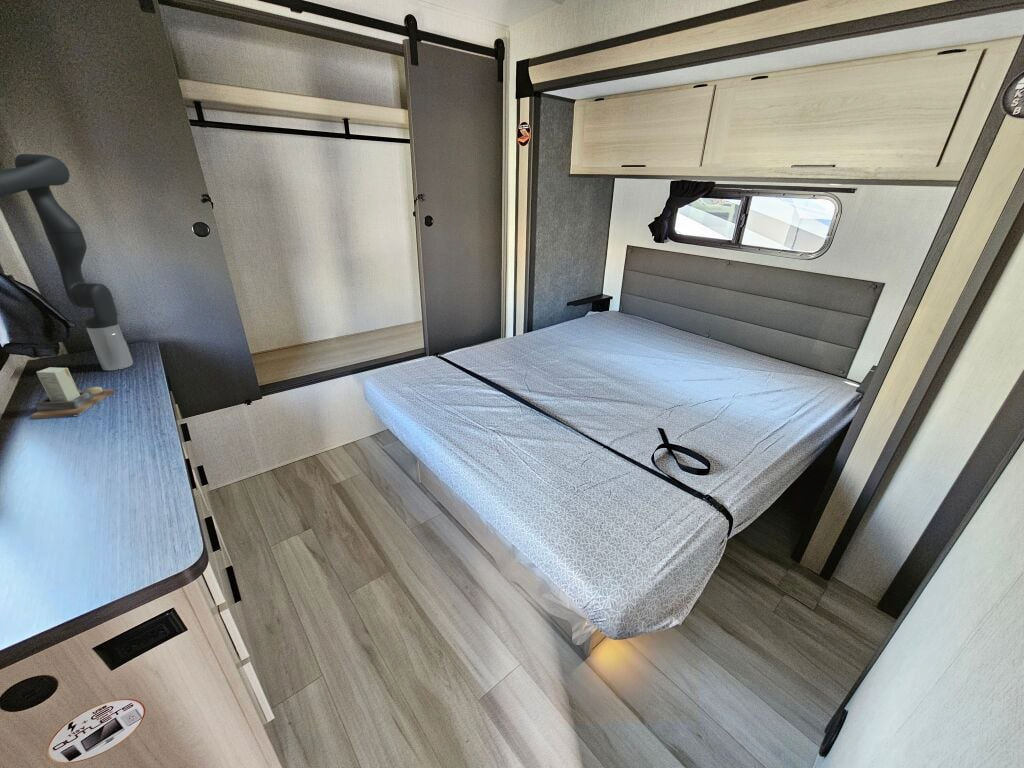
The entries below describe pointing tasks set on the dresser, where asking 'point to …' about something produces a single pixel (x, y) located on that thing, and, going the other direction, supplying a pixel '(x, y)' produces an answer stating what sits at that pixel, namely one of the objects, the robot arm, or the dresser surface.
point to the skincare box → (58, 384)
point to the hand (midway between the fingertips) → (3, 312)
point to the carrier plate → (71, 404)
